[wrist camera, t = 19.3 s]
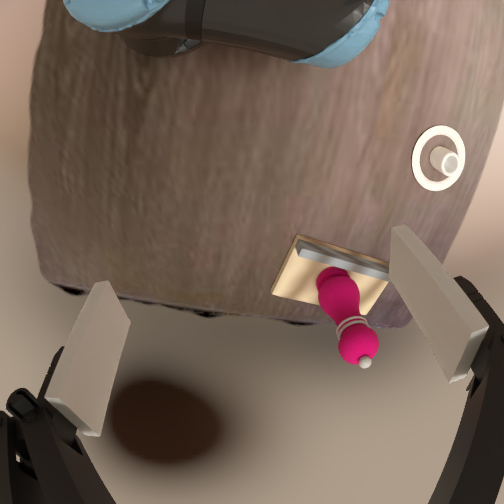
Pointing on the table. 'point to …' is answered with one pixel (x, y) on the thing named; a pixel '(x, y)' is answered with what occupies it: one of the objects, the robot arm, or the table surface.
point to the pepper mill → (347, 316)
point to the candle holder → (440, 158)
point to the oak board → (324, 256)
